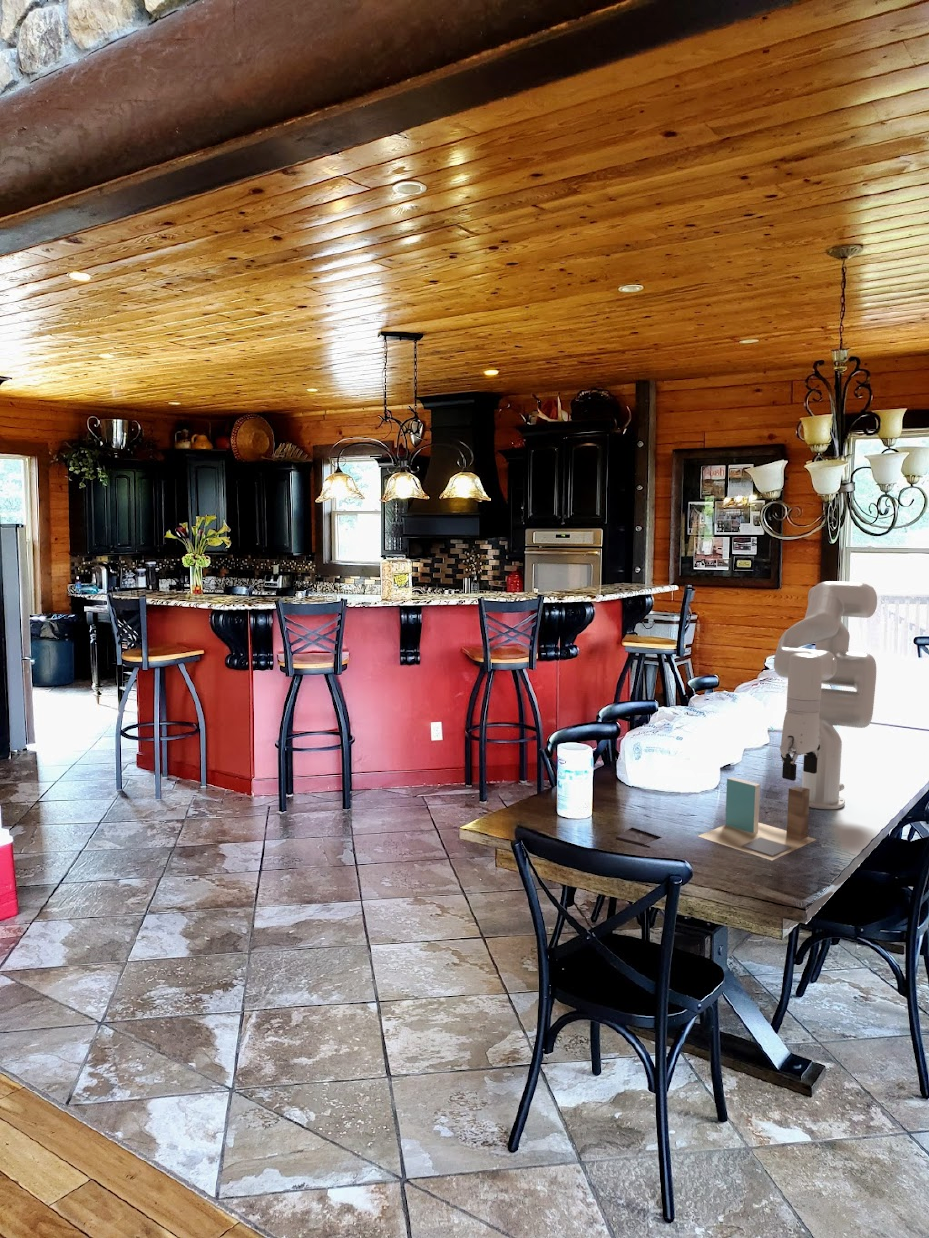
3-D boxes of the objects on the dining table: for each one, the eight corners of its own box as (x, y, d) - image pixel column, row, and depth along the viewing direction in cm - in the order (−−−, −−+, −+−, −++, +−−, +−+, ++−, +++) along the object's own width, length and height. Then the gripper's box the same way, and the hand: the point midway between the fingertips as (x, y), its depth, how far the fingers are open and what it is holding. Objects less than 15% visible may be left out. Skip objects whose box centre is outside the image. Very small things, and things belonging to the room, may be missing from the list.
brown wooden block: (793, 833, 222) (796, 785, 221) (807, 837, 220) (809, 789, 218) (786, 836, 220) (788, 788, 219) (799, 840, 217) (802, 791, 216)
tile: (729, 823, 229) (731, 776, 228) (758, 831, 223) (760, 784, 222) (724, 824, 228) (726, 778, 226) (753, 833, 222) (755, 785, 220)
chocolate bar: (616, 836, 222) (650, 816, 236) (615, 840, 222) (650, 820, 236) (649, 845, 216) (682, 824, 230) (649, 849, 216) (682, 828, 230)
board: (742, 822, 233) (742, 817, 233) (816, 844, 218) (816, 839, 218) (696, 840, 220) (696, 836, 220) (771, 865, 205) (772, 860, 205)
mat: (760, 838, 218) (760, 837, 218) (791, 848, 212) (791, 846, 212) (741, 846, 213) (741, 845, 213) (772, 856, 207) (772, 855, 207)
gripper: (807, 698, 224) (803, 766, 226) (769, 707, 213) (765, 778, 215) (836, 703, 219) (832, 773, 220) (799, 712, 207) (795, 785, 209)
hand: (799, 775), depth 218 cm, fingers open, 9 cm apart
